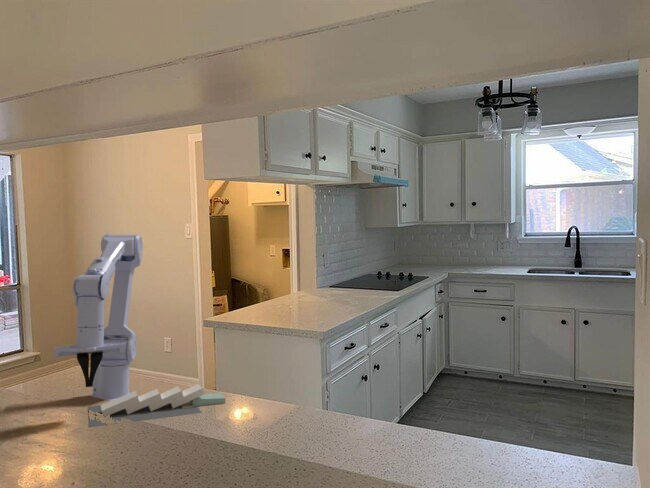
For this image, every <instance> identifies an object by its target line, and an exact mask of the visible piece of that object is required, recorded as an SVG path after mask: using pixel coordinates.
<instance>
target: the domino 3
mask: <svg viewBox="0 0 650 488" xmlns="http://www.w3.org/2000/svg"><path fill="white" fill-rule="evenodd" d="M182 391H183V390H182V389H181V388H180V387H179V386H175V387H173V388H170V389H168V390H166V391H164V392H161V393H160V395H161V398H162V400H160V401H157V402H155V403H153V404H150V405H148V407H149V409H150V411H153V410H156V409H158V408H160V407H162V406H164V405H167V404H169V403H171V402H173V401H176V400H178V399H180V398H182V397H184V396H183V393H182Z"/></svg>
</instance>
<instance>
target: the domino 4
mask: <svg viewBox="0 0 650 488" xmlns="http://www.w3.org/2000/svg"><path fill="white" fill-rule="evenodd" d="M181 391H182V393H183V396H184V397H182V398H180V399H178V400H176V401H173V402H171V403H169V404H170V405H171V407H172V408H176V407H178V406H180V405H182V404H184V403H187V402H189V401H191V400H193V399H195V398H198V397H200V396H202V395H204V394H205V391H204V389H203V387H202V386H201V385H200V384H199V383H197V384H195V385H193V386H190V387H189V388H186V389H183V390H181Z"/></svg>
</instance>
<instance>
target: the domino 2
mask: <svg viewBox="0 0 650 488" xmlns="http://www.w3.org/2000/svg"><path fill="white" fill-rule="evenodd" d="M160 394H161V393H160V392H159V390H158V388H154V389H153V390H151V391H148V392H146V393H143V394H141V395H137V396H138V399H139V402H138V403H136V404H134V405H131V406H129V407H127V408H126V411H127V414H130V413H132V412H134V411H137V410H139V409H141V408H144V407H146V406H148V405H150V404H153V403H155V402H157V401H160V400H162V398H161V395H160Z"/></svg>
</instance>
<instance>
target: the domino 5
mask: <svg viewBox="0 0 650 488" xmlns="http://www.w3.org/2000/svg"><path fill="white" fill-rule="evenodd" d="M226 399H227V398H226V397H225V396H224V395H223V394H222V393H204V395H202V396H200V397H198V398H195V399H193V400H191V401H190V403H191V404H192V406H197V407H205V406H211V405H212V406H213V405H220V404H226Z"/></svg>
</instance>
